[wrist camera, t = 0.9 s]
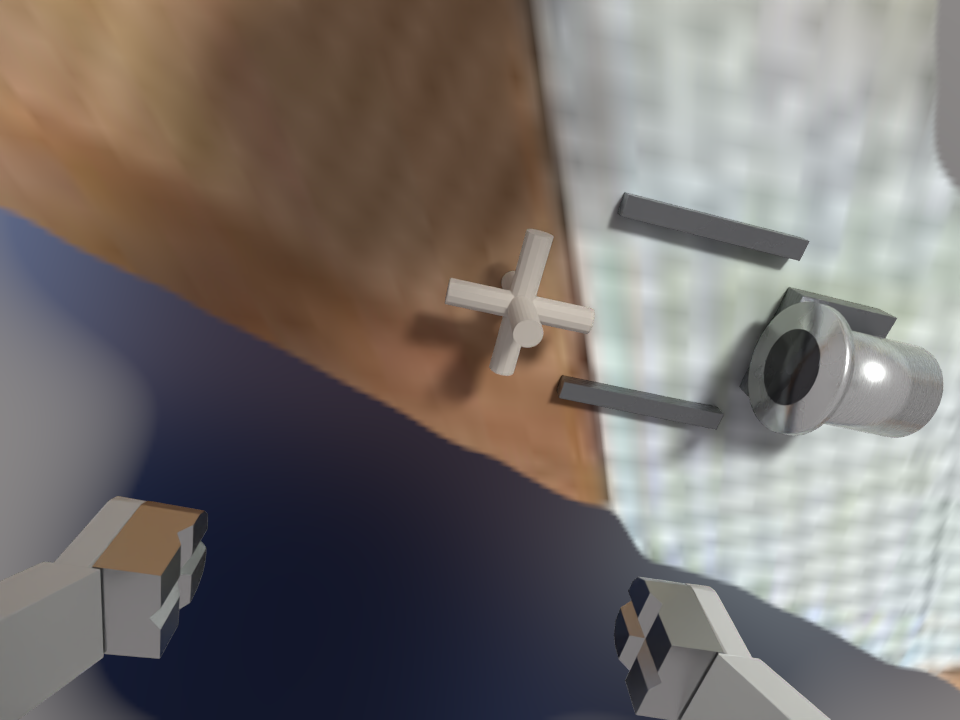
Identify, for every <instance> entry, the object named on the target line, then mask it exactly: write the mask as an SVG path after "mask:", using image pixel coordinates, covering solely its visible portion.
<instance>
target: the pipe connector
mask: <svg viewBox="0 0 960 720" xmlns="http://www.w3.org/2000/svg"><path fill="white" fill-rule="evenodd" d="M553 237H554V236H552V235H551V234H549V233H546V232H543V231H540V230H535V229H527V230H526V234H525V238H524V241H523V245H522V249H521V252H520V256H519V260H518V263H517V267H516V271H510V272H507V273H506V274H505V275H504V276H503V278H502V281H501V285H502V289H500V288H496V287H491V286H487V285H482V284H478V283H473V282H468V281H464V280H459V279H455V278H450V280H449V284H448V288H447V293H446V299H445V304H448V305H452V306H457V307H462V308H467V309H471V310H476V311H481V312H485V313H490V314H495V315H500V316H503V318H502V322H501V326H500V329H499V333H498V337H497V340H496V344H495V348H494V351H493V355H492V358H491V362H490V366H489V367H490V369H491V370H492V371H493V372H495V373H497V374H500V375H507V376H509V375H512V374H513V372H514V369H515V366H516V363H517V359H518V356H519V352H520V349H521V346H522V347H527V348H529V347H533V346H535V345H537V344H538V343H539V342H540V341H541V340H542V337H543V328H542V326H541V324H542V325H547V326H551V327H556V328H561V329H566V330H570V331H575V332H580V333H585V334H588V333H589V332H590V330H591V328H592V326H593V322H594V314H595V313H594V309H592V308H587V307H583V306H578V305H574V304H569V303H564V302H560V301H555V300H551V299H546V298H542V297H537V296H536V295H537V291H538V288H539V285H540V281H541V278H542V274H543V271H544V268H545V264H546V261H547V257H548V254H549V251H550V247H551V244H552V241H553Z"/></svg>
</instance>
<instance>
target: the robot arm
mask: <svg viewBox="0 0 960 720" xmlns="http://www.w3.org/2000/svg"><path fill="white" fill-rule="evenodd" d="M207 525H208V514H207V513H206V512H205V511H203V510H197V509H192V508H186V507H180V506H174V505H168V504H163V503H158V502H152V501H142V500H137V499H131V498H126V497H120V496H117V497H115V498H113V499H111V500H109V501H108V502H107V503H106V504H105V505H104V506H103V508H102V509H101V510H100V511H99V512H98V513H97V514H96V516H95V517H94V518H93V519H92V520H91V521H90V522H89V523H88V524H87V526H86V527H85V528H84V529H83V530H82V531H81V532H80V533H79V535H78V536H77V537H76V538H75V539H74V541H72V543H71V544H70V545H69V546H68V547H67V548H66V549H65V550H64V551H63V553H62V554H61V555H60V556H59V557H58V558H57V559H56V561H55V562H54V563H50V562H42V563H40V564H37V565H35V566H33V567H31V568H29V569H26V570H24V571H22V572H20V573H17V574H15V575H13V576H11V577H8V578H6V579H4V580H2V581H0V720H19V719H20V718H22V717H23V716H25V715H26V714H27V713H29V712H30V711H31V710H33V709H34V708H35V707H37V706H38V705H39V704H41V703H42V702H43V701H45V700H46V699H48V698H49V697H50V696H52V695H53V694H54V693H56V692H57V691H58V690H60V689H61V688H62V687H64V686H65V685H66V684H68V683H69V682H70V681H72V680H73V679H75V678H76V677H77V676H79V675H80V674H81V673H83V672H84V671H85V670H87V669H88V668H89V667H91V666H92V665H94V664H95V663H96V662H98V661H99V660H100V659H102V658H103V655H104V654H112V655H123V656H134V657H146V658H157V659H160V657H161V656H162V654H163V652H164V650H165V648H166V646H167V644H168V642H169V641H170V639H171V637H172V635H173V633H174V632H175V630H176V628H177V626H178V622H179V609H181V608H182V607H184V606H185V605H187V604H188V603H190V602H191V600H192V597H193V596H194V594H195V592H196V590H197V588H198V585H199V582H200V579H201V576H202V573H203V569H204V565H205V560H206V547H205V546H204V544H203V543H202V542H201V539H202V537H203V536H204V534H205V532H206V530H207V527H208V526H207ZM628 592H629V595H630V598H631V601H630V602H629V603H627V604H626V605H624V606H622V607H621V608H620V610H619V613H618V615H617V618H616V620H615V630H614V640H615V648H616V651H617V654H618V658H619V660H620V661H621V662H622V663H623V664H624V665H625V666H626V667H627V668H628V670H629V673H628V676H627V678H626V680H625V681H626V685H627V688H628V691H629V694H630V698H631V701H632V704H633V707H634V710H635V714H636V715H641V716H647V717H654V718H661V719H668V720H830V719H829V718H828V717H827V716H826V715H824V714H823V713H822V712H821V711H820V710H818V708H816V707H815V706H814V705H813V704H812V703H811V702H809V701H808V700H807V699H806V698H805V697H804V696H802V695H801V694H800V693H799V692H798V691H797V690H795V689H794V688H793V687H792V686H791V685H790V684H788V683H787V682H786V681H784V679H782V678H781V677H780V676H779V675H778V674H777V673H775V672H774V671H773V670H772V669H771V668H770V667H768V666H767V665H766V664H765V663H764V662H762V661H761V660H760V659H757V658H752V657H751V655H750V653H749V651H748V649H747V648H746V646H745V644H744V642H743V640H742V639H741V637H740V635H739V633H738V631H737V629H736V628H735V626H734V624H733V622H732V620H731V619H730V617H729V615H728V613H727V611H726V609H725V608H724V606H723V604H722V602H721V601H720V599H719V597H718V595H717V593H716V592H715V591H714V590H713V589H712V588H711V587H709V586H702V585H694V584H687V583H686V584H683V583H677V582H671V581H664V580H657V579H649V578H643V577H637V578H636V579H635V580H634V581H633V582H632V584H631V586H630V588H629V590H628Z"/></svg>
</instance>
